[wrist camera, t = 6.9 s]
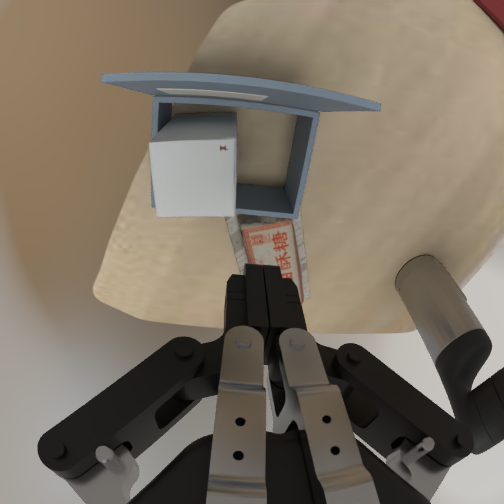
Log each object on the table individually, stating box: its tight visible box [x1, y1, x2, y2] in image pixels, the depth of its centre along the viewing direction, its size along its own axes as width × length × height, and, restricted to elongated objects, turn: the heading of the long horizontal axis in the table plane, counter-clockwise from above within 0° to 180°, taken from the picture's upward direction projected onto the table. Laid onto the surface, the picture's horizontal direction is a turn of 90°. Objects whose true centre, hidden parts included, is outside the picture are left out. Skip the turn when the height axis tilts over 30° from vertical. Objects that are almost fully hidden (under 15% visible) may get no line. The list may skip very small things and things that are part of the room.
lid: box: [102, 72, 381, 112], centre depth 21 cm, size 16×12×1 cm
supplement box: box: [149, 113, 237, 217], centre depth 30 cm, size 7×7×13 cm
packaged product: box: [225, 210, 310, 304], centre depth 44 cm, size 18×5×10 cm
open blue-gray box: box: [151, 95, 320, 219], centre depth 33 cm, size 16×12×7 cm
